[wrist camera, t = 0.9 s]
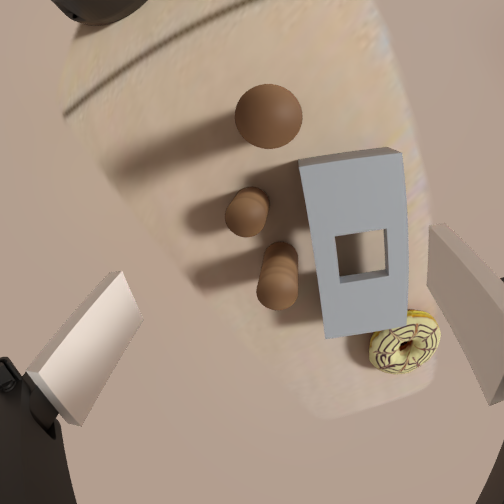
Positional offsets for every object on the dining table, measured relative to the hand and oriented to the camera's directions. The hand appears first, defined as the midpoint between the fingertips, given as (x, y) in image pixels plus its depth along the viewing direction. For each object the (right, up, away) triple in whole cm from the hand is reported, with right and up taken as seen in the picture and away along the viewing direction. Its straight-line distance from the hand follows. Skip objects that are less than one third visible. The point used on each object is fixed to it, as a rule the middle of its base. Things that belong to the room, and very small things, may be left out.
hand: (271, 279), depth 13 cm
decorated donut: (+20, -11, +28) cm, 37 cm away
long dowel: (+2, +15, +18) cm, 24 cm away
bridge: (+11, +3, +23) cm, 26 cm away
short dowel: (-1, +6, +23) cm, 24 cm away
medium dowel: (+3, 0, +25) cm, 25 cm away
